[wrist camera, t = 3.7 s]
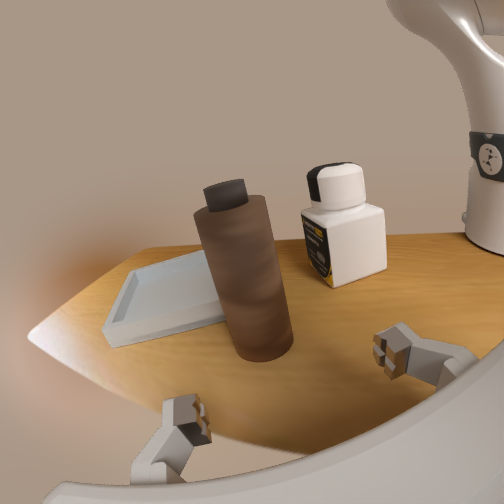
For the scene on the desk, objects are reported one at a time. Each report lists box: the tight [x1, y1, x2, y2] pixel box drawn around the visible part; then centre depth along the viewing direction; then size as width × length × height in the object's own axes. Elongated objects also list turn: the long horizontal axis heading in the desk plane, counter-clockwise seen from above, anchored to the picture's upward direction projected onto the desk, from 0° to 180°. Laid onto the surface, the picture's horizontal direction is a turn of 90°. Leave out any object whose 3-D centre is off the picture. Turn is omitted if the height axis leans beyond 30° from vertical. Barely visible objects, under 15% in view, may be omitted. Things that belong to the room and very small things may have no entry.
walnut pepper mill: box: [194, 179, 293, 362], centre depth 21 cm, size 5×5×14 cm
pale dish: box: [102, 250, 226, 348], centre depth 34 cm, size 16×16×2 cm
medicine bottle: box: [301, 162, 387, 288], centre depth 30 cm, size 7×7×12 cm
